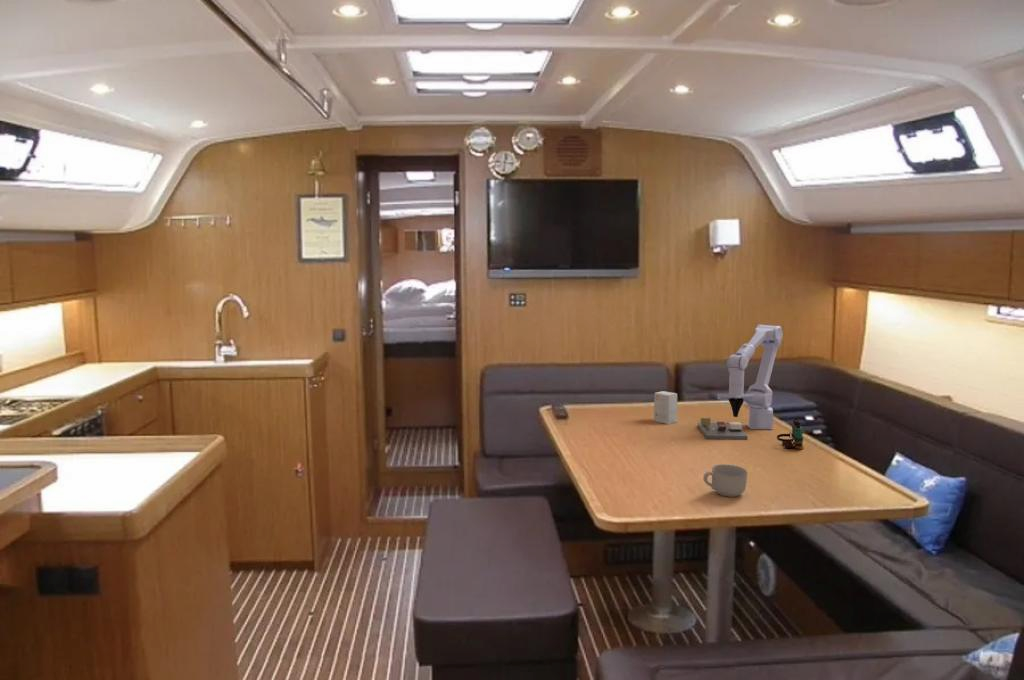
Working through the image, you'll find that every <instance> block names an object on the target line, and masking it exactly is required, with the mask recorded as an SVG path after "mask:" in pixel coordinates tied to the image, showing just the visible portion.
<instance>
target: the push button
mask: <svg viewBox="0 0 1024 680" xmlns="http://www.w3.org/2000/svg"><path fill="white" fill-rule="evenodd" d="M728 423H729V428H730V429H742V430H743V424H742V423H741V422H740V421H728Z"/></svg>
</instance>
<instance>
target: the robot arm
mask: <svg viewBox="0 0 1024 680" xmlns="http://www.w3.org/2000/svg"><path fill="white" fill-rule="evenodd" d="M783 336H784V333H783V329H782V327H781V325H769V324H767V325H766V324H761V323H760V324H758V325H757V326H756V328H755V329H754V335H753V336H752V337H751V339H750V340H749V341H748V343H743V344H742V346H741V347H739V349H738V350H737V351H736V352H735V353H734V354H730V355H729V356H728V358H727V360H726V366H727V369H728V373H729V376H728V377H729V381H728V382H729V383H728V384H729V386H728V387H729V388H728V392H727V393H717V399H718V400H728V402H729V404H730V406H731V410H732V415H733V417H734V418H738V416H739V412H740V409H741V407H742V406H743V404H744V402H746V404H747V406H748V407H749V408H748V409H749V411H748V414H749V415H748V423H746V426H747V427H748V428H749V429H750V430H774V428H773V426H774V425H773V424H774V410H773V407H771V405H772V403H773V393H774V392H773V390H772V389H771V388H770V386H769V384H770V381H771V375H772V371H773V368H774V365H775V364H774V363H775V361H776V360H775V359H776V356H777V352H778V348H779V347H781V343H782V339H783ZM760 345H761V346H762V347H763V348H764V349H763V352H762V357H761V360H760V364H759V365H760V366H759V368H758V372H757V376H756V379H755V382H754V383H753V384H751V385H749V387H748V390H747V391H746V393H744V391H745V390H744V389H745V386H744V385H745V370H746V369H747V367H748V365H749V361H750V359H751V358H752V357H753V356H754V355H755V353H756V348H757V347H759V346H760ZM744 400H745V401H744Z"/></svg>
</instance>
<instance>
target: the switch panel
mask: <svg viewBox="0 0 1024 680" xmlns="http://www.w3.org/2000/svg"><path fill="white" fill-rule="evenodd" d="M724 423H725V425H726V429H719V427H718V425H717V422H710V425H700V422H697V426H698V427H697V428H699V431H700V432H702V434H703V435H704V437H705V439H706V440H741V441H742V440H748V434H746V432H745V431H743V428H742V429H730V428H729V422H724Z"/></svg>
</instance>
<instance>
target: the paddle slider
mask: <svg viewBox="0 0 1024 680" xmlns="http://www.w3.org/2000/svg"><path fill="white" fill-rule="evenodd" d="M699 423H700V425H710V423H711V417H707V416H705V417H702V416H701V417H699Z"/></svg>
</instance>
